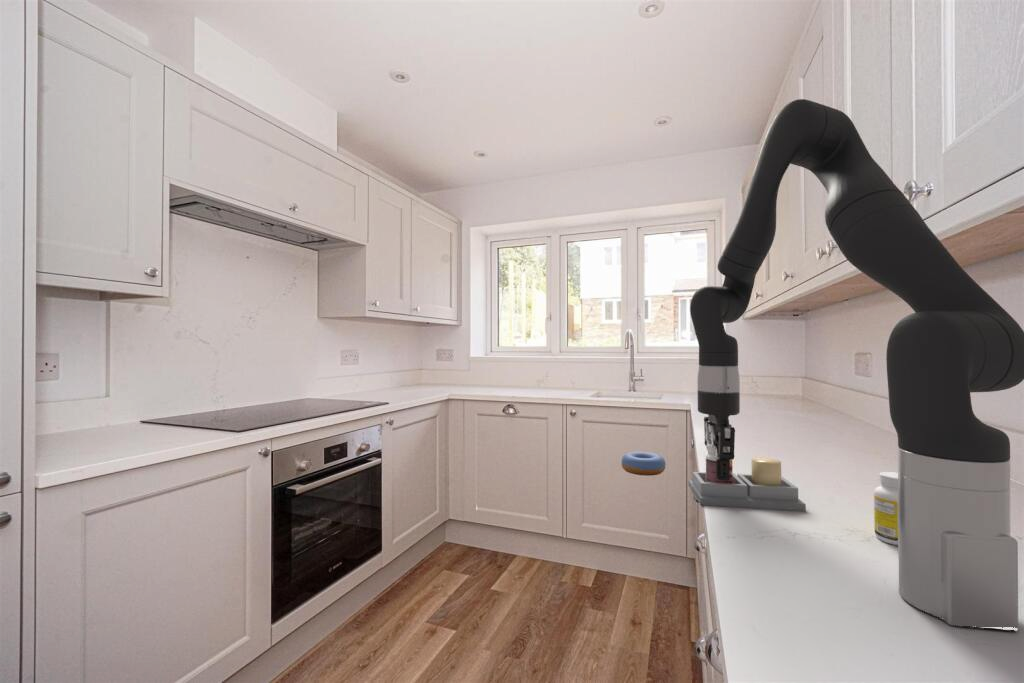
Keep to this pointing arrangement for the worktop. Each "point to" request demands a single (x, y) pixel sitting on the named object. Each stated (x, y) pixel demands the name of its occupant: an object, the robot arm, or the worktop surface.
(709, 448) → the pill bottle
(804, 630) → the worktop surface
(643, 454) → the doughnut
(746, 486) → the grey compartment tray
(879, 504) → the supplement bottle
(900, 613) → the worktop surface
